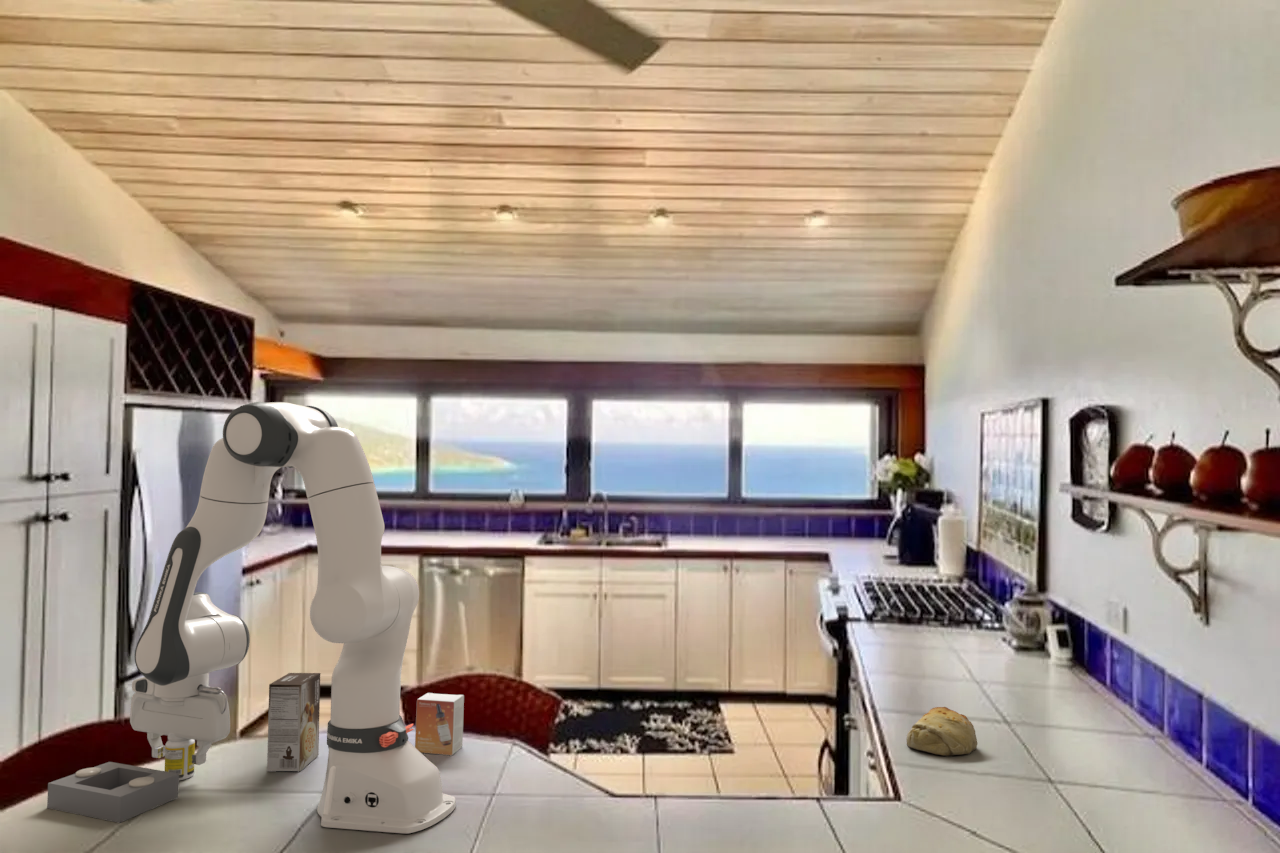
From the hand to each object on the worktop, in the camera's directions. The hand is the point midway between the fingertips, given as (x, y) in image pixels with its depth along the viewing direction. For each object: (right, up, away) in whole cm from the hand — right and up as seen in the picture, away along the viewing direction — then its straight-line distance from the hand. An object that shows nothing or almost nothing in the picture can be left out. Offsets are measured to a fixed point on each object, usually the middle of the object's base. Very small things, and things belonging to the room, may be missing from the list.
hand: (178, 760), depth 156 cm
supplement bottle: (0, -3, 0) cm, 3 cm away
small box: (+43, -5, +16) cm, 46 cm away
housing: (-4, -2, -12) cm, 13 cm away
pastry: (+145, -6, +22) cm, 147 cm away
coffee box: (+18, -4, +7) cm, 20 cm away
